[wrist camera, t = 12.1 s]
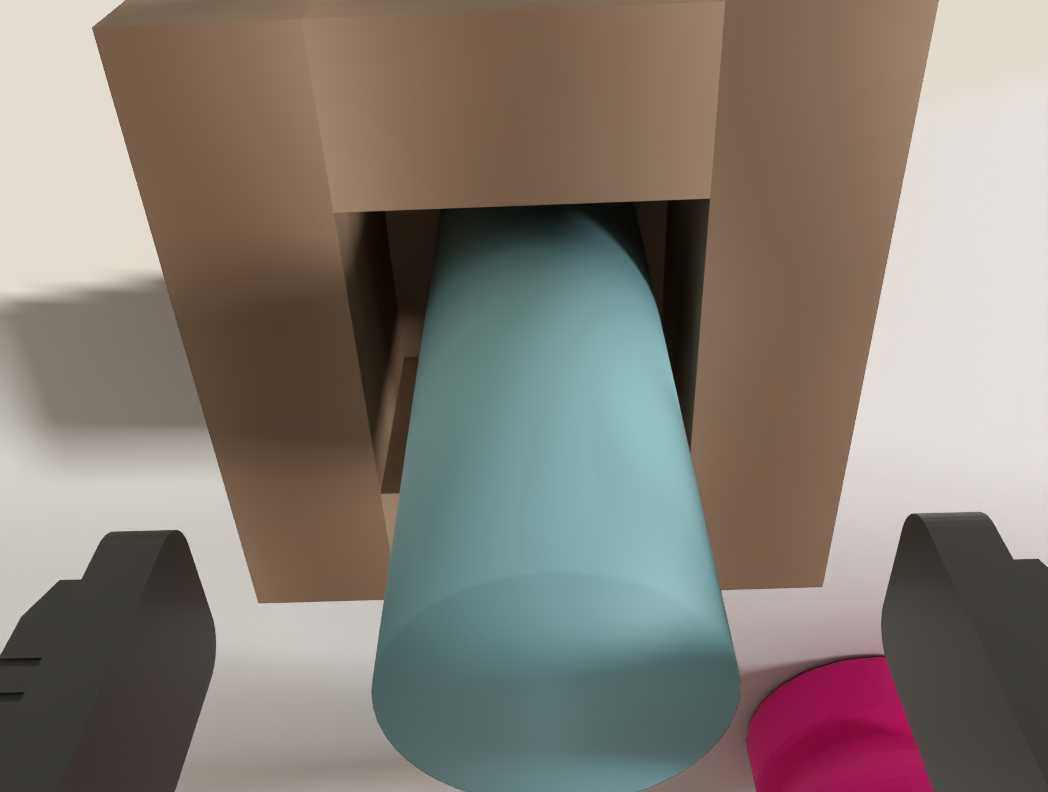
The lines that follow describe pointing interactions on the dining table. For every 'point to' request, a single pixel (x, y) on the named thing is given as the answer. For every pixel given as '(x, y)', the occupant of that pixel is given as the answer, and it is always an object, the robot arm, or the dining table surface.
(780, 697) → the pepper mill
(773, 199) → the socket block
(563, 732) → the peg
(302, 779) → the dining table surface
